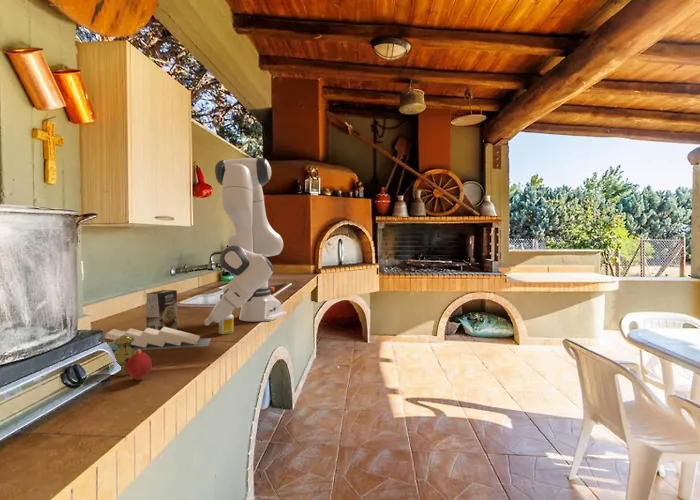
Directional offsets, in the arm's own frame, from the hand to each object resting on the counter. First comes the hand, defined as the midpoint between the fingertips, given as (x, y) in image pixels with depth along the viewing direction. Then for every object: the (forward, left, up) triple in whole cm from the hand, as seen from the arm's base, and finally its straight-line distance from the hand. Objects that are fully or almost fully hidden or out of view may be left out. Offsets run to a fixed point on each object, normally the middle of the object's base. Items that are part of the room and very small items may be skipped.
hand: (205, 323), depth 121 cm
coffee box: (0, -25, -8) cm, 26 cm away
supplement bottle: (-12, -4, -8) cm, 15 cm away
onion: (+28, +10, -8) cm, 31 cm away
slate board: (+8, -8, -7) cm, 13 cm away
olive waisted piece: (+27, +1, -8) cm, 28 cm away
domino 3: (+9, -9, -6) cm, 14 cm away
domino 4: (+5, -5, -6) cm, 9 cm away
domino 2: (+16, -16, -5) cm, 23 cm away
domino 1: (+13, -12, -6) cm, 18 cm away
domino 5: (+2, -2, -6) cm, 6 cm away
